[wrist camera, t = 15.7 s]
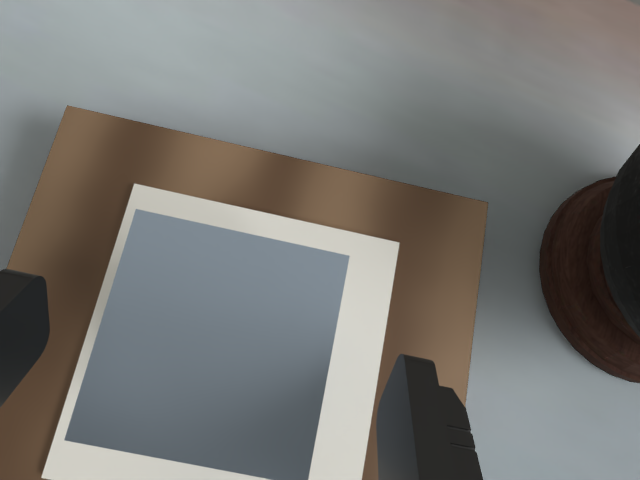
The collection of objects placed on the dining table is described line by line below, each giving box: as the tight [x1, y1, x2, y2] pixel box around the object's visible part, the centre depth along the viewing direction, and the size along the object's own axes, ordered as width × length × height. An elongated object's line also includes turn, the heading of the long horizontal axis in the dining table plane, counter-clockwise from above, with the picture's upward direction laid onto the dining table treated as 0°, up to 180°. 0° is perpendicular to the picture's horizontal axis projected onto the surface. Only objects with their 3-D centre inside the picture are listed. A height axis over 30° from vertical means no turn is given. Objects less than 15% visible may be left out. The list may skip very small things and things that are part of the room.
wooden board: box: [0, 105, 488, 480], centre depth 22 cm, size 20×18×3 cm
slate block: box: [64, 209, 350, 480], centre depth 16 cm, size 5×5×10 cm
